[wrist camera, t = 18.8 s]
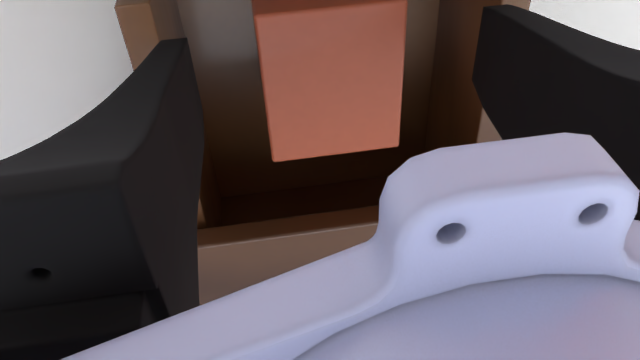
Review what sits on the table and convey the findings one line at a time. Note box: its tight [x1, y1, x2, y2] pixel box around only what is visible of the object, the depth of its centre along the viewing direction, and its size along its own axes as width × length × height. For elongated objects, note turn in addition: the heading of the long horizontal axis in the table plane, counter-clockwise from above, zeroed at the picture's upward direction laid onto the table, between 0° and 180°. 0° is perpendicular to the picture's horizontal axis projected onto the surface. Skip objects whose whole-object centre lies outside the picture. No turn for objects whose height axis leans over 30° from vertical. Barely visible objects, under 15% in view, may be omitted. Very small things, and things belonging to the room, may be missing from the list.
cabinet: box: [197, 138, 502, 305], centre depth 25 cm, size 15×13×8 cm
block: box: [251, 0, 408, 162], centre depth 17 cm, size 4×5×4 cm
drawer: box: [114, 0, 531, 229], centre depth 16 cm, size 19×11×6 cm, turn 3°
